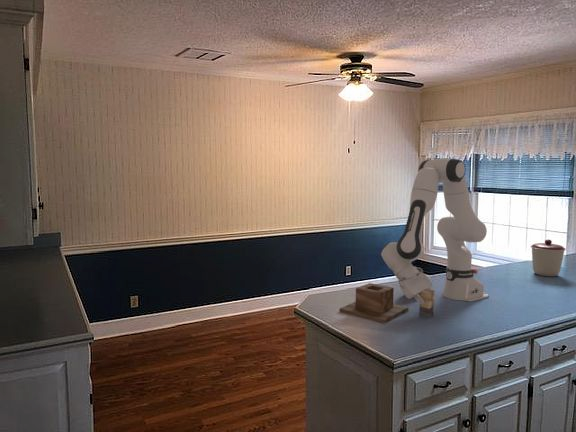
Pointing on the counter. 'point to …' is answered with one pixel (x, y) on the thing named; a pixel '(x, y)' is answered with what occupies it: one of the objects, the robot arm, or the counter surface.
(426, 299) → the rail end
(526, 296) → the counter surface
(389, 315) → the post block
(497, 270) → the counter surface
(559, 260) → the canister
